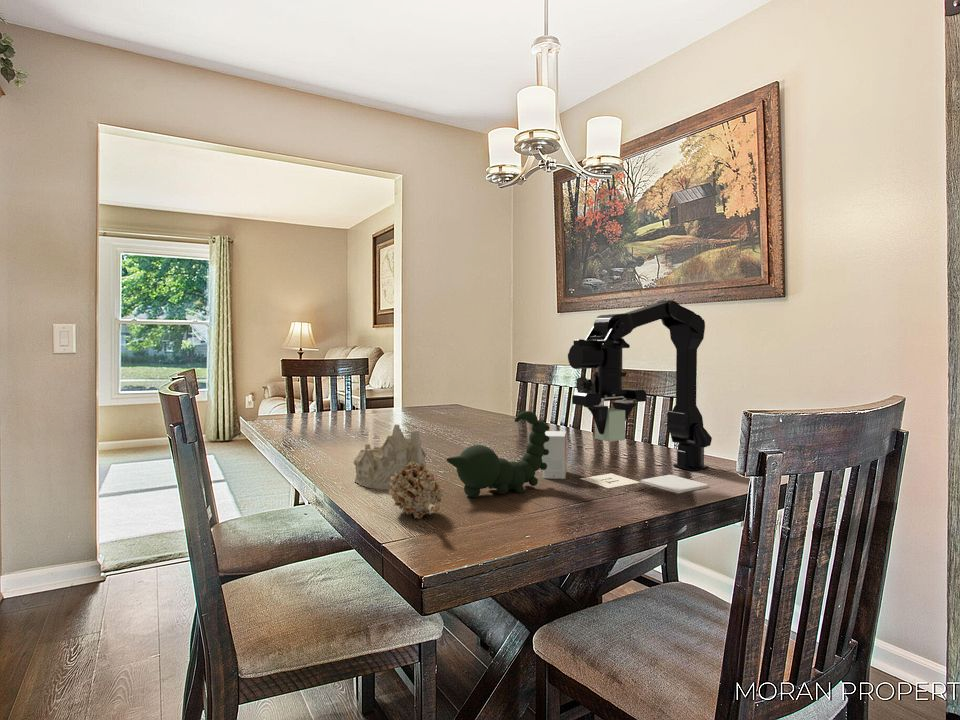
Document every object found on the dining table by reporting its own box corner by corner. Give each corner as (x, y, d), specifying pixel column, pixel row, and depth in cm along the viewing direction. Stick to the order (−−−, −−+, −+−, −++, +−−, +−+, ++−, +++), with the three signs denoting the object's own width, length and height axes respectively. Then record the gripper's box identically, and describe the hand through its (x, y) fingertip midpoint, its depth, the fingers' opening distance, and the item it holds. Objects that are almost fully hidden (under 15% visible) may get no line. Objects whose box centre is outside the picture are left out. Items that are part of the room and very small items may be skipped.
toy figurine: (529, 488, 135) (434, 493, 123) (535, 409, 135) (440, 406, 123) (553, 497, 127) (453, 504, 115) (559, 413, 127) (460, 411, 115)
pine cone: (380, 507, 115) (379, 459, 115) (424, 501, 120) (424, 454, 119) (418, 542, 96) (417, 484, 95) (469, 533, 100) (469, 477, 100)
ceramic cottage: (440, 478, 138) (435, 417, 137) (387, 496, 125) (382, 429, 125) (399, 472, 148) (394, 416, 148) (346, 488, 136) (341, 426, 135)
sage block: (610, 436, 138) (610, 407, 138) (625, 439, 134) (625, 410, 133) (594, 438, 136) (594, 409, 135) (609, 441, 131) (609, 411, 131)
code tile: (611, 474, 142) (611, 473, 142) (640, 483, 133) (640, 482, 133) (579, 480, 137) (579, 478, 137) (608, 489, 128) (608, 488, 128)
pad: (670, 476, 138) (670, 474, 138) (708, 487, 129) (708, 484, 129) (640, 482, 133) (640, 479, 133) (677, 493, 124) (677, 490, 124)
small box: (565, 479, 136) (565, 436, 136) (542, 478, 137) (542, 435, 137) (567, 471, 144) (566, 430, 144) (545, 471, 145) (544, 430, 145)
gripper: (615, 364, 146) (615, 425, 146) (557, 367, 136) (557, 431, 137) (648, 366, 136) (648, 431, 137) (588, 369, 127) (588, 438, 127)
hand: (609, 433), depth 135 cm, fingers closed on sage block, 5 cm apart
